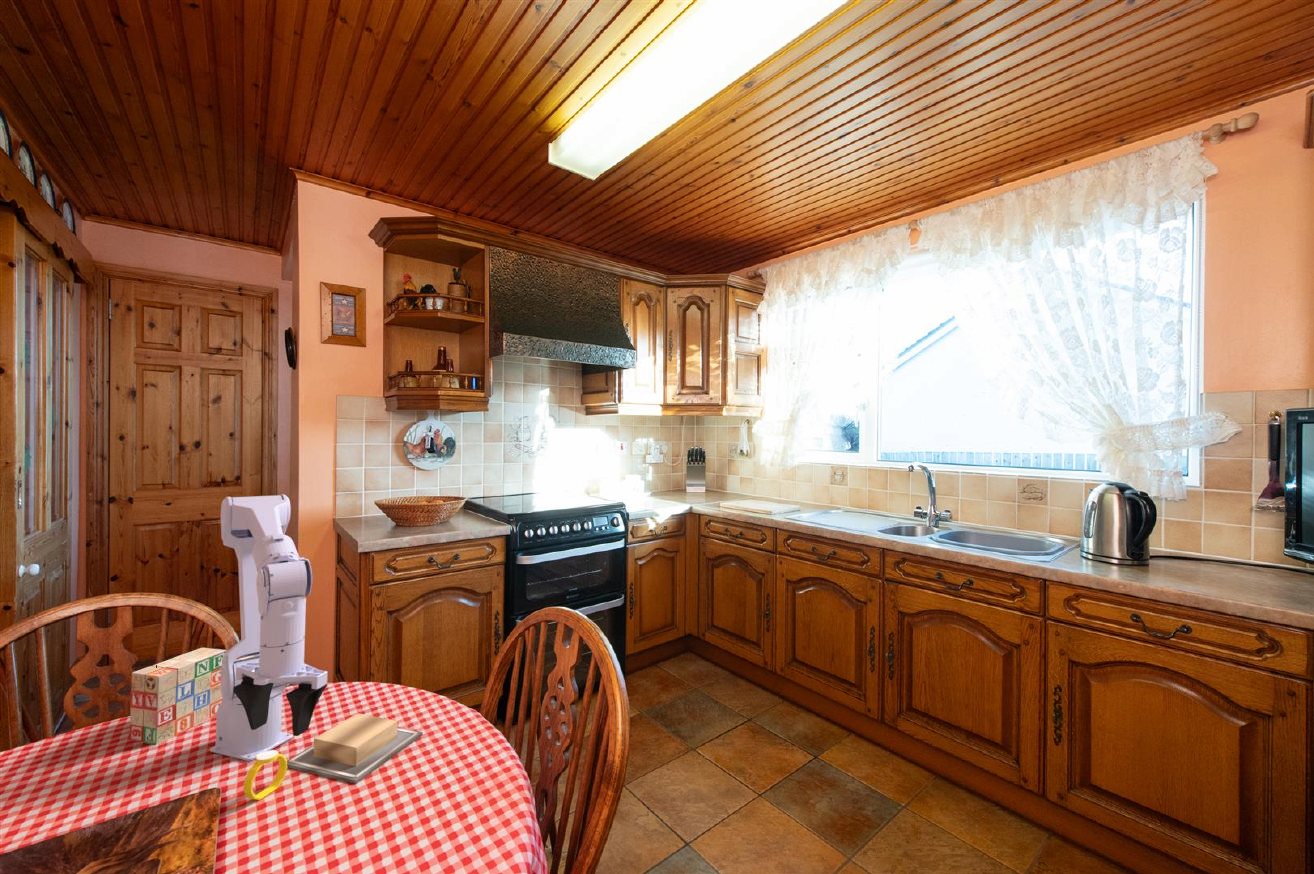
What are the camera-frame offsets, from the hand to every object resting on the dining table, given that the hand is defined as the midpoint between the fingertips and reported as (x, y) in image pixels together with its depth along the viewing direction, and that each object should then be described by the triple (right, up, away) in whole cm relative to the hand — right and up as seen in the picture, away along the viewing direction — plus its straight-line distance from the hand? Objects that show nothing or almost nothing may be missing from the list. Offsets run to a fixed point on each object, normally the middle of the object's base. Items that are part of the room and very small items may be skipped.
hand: (279, 729), depth 82 cm
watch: (-2, -10, -1) cm, 10 cm away
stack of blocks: (-30, -10, +22) cm, 39 cm away
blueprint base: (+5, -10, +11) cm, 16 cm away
